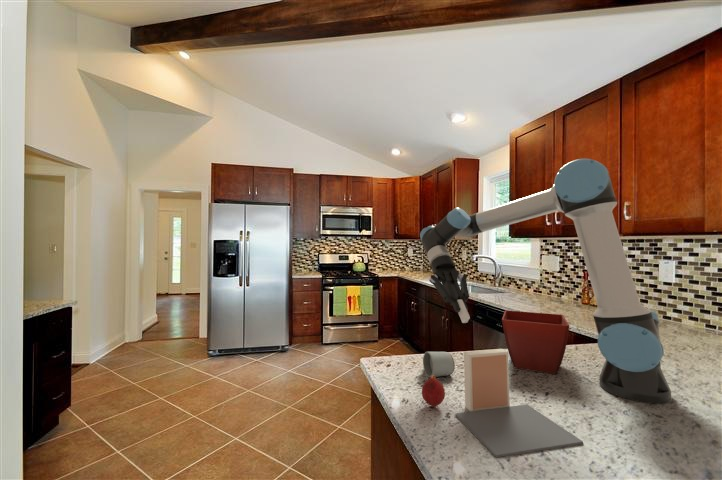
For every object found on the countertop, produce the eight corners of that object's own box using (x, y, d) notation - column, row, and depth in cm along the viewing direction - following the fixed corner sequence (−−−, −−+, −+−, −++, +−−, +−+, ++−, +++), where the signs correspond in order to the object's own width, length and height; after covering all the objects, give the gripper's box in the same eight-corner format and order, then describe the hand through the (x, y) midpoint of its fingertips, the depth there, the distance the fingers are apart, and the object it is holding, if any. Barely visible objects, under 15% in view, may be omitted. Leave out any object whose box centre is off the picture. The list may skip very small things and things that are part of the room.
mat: (455, 415, 76) (455, 413, 76) (527, 406, 80) (527, 404, 80) (496, 457, 60) (495, 455, 60) (583, 443, 64) (583, 441, 64)
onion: (440, 415, 76) (440, 382, 76) (418, 409, 79) (418, 377, 79) (447, 405, 81) (447, 373, 81) (426, 399, 84) (426, 369, 84)
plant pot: (565, 361, 112) (563, 313, 112) (571, 381, 95) (569, 325, 95) (506, 353, 121) (505, 309, 121) (503, 370, 104) (501, 319, 104)
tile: (503, 402, 82) (501, 348, 82) (510, 407, 79) (508, 351, 80) (465, 407, 80) (463, 351, 80) (471, 412, 77) (469, 355, 78)
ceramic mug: (456, 378, 98) (456, 353, 98) (433, 381, 96) (432, 355, 96) (440, 367, 108) (439, 344, 109) (418, 369, 106) (417, 346, 106)
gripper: (454, 268, 112) (481, 326, 95) (420, 269, 110) (441, 328, 93) (461, 253, 107) (491, 312, 90) (426, 254, 105) (449, 314, 88)
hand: (466, 320), depth 92 cm, fingers closed
